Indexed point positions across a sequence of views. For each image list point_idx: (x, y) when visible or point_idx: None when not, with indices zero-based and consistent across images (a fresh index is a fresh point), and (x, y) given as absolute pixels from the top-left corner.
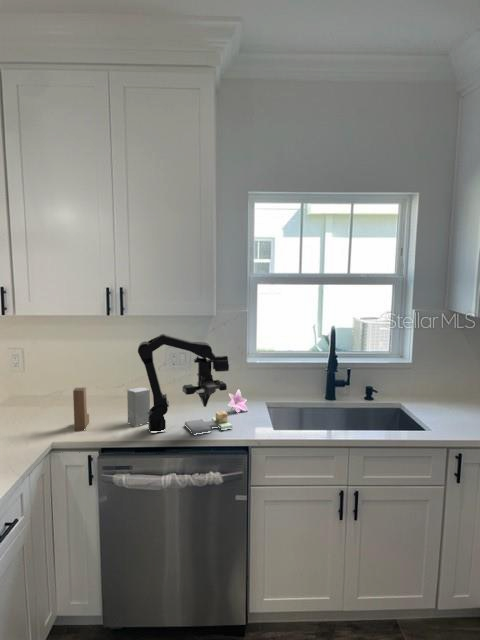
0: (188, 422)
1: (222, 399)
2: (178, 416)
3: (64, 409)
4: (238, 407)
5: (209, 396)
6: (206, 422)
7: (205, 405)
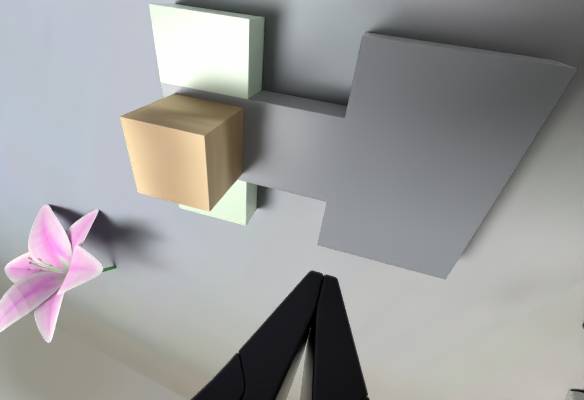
0: (434, 256)
1: (132, 341)
2: (373, 350)
3: None
4: (68, 242)
5: None
6: (319, 182)
7: (317, 285)
